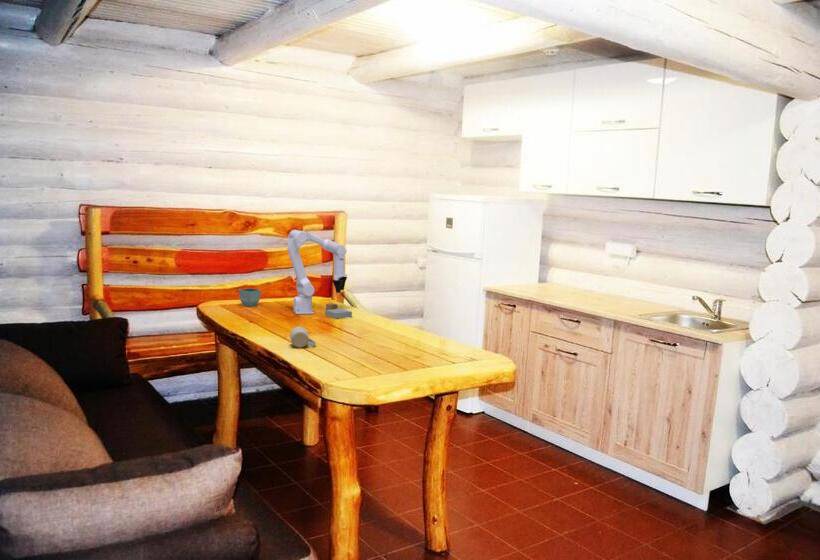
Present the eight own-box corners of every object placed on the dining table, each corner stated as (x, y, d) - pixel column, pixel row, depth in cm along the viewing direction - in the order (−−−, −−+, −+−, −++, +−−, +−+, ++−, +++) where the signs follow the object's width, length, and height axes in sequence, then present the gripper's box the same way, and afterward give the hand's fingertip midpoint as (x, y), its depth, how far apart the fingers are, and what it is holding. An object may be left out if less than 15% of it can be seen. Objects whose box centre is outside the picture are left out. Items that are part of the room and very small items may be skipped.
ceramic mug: (291, 348, 283) (291, 330, 282) (289, 344, 291) (290, 326, 290) (316, 348, 286) (317, 330, 285) (314, 344, 294) (315, 326, 293)
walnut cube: (330, 313, 363) (330, 305, 363) (325, 312, 367) (326, 303, 366) (337, 312, 366) (337, 304, 366) (333, 311, 370) (333, 303, 369)
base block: (335, 319, 349) (335, 313, 348) (325, 315, 356) (325, 310, 356) (351, 317, 355) (351, 311, 355) (341, 314, 363) (341, 308, 362)
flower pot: (261, 305, 378) (261, 289, 376) (249, 307, 370) (250, 291, 369) (250, 303, 382) (250, 288, 381) (238, 305, 375) (238, 289, 374)
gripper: (343, 268, 363) (343, 293, 365) (349, 264, 377) (350, 289, 379) (330, 268, 364) (331, 293, 366) (337, 264, 378) (338, 288, 380)
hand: (340, 291), depth 373 cm, fingers open, 7 cm apart
